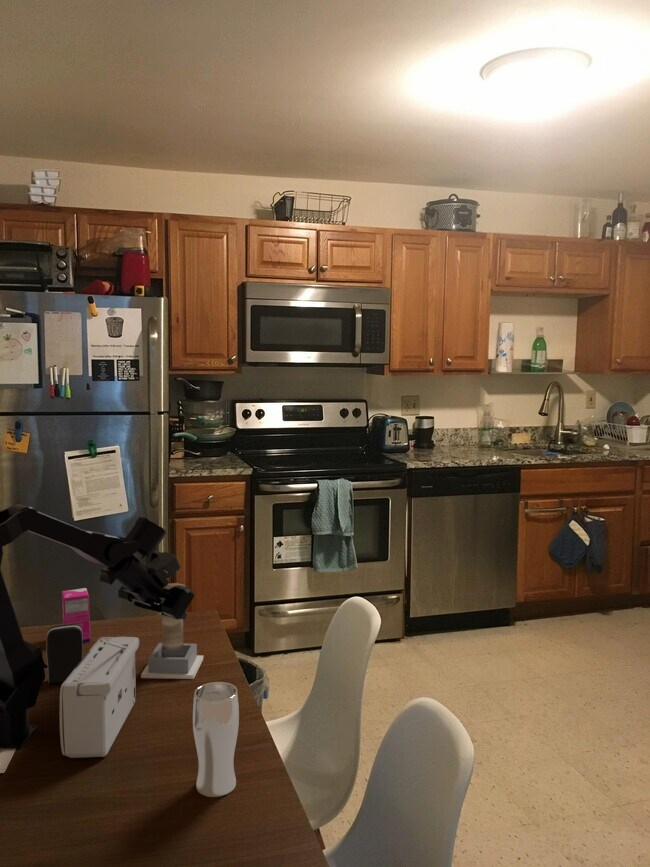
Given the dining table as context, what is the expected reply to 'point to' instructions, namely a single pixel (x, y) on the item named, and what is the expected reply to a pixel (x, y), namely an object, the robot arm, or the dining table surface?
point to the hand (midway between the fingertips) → (177, 614)
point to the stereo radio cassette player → (98, 697)
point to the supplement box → (77, 610)
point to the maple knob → (172, 629)
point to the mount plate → (173, 663)
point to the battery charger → (63, 651)
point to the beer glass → (215, 737)
